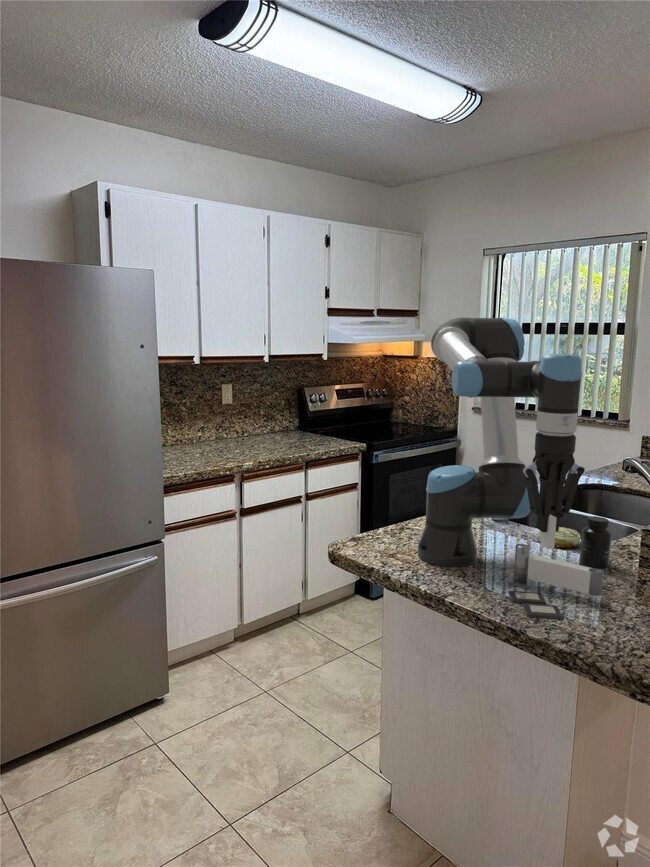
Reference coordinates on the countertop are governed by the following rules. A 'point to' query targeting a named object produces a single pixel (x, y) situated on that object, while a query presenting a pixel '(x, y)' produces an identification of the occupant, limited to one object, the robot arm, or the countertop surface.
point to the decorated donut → (566, 537)
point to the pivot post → (521, 568)
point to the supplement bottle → (596, 543)
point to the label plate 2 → (542, 611)
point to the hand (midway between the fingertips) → (547, 546)
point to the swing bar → (566, 575)
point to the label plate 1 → (527, 597)
